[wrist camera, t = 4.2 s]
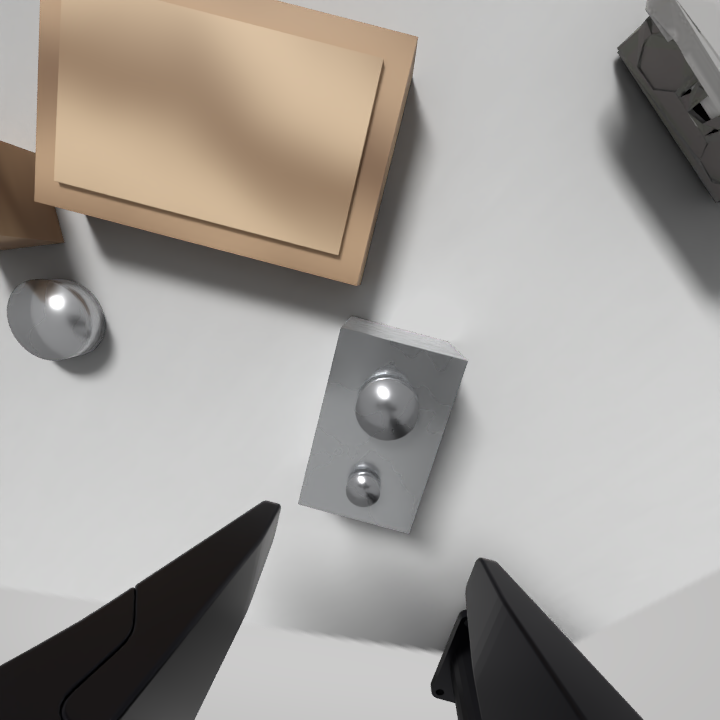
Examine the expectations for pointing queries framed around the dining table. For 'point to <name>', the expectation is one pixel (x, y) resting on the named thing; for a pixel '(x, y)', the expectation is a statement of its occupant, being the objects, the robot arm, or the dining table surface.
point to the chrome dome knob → (55, 318)
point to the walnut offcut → (23, 203)
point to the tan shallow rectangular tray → (222, 124)
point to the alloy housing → (381, 423)
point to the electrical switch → (682, 76)
